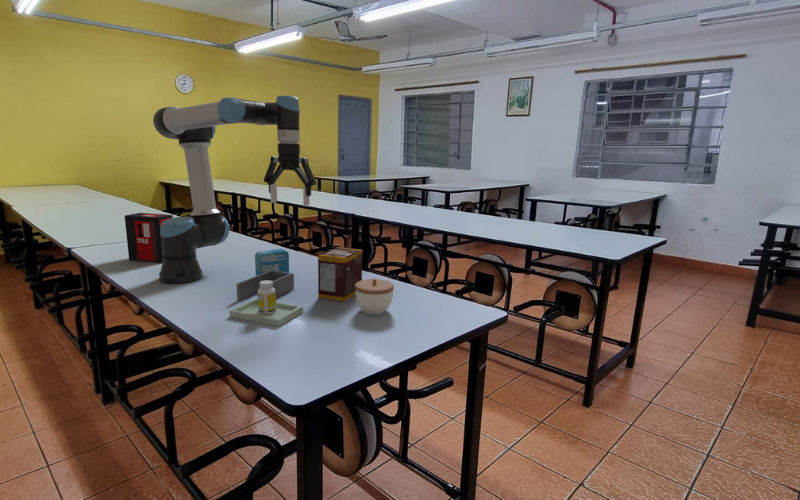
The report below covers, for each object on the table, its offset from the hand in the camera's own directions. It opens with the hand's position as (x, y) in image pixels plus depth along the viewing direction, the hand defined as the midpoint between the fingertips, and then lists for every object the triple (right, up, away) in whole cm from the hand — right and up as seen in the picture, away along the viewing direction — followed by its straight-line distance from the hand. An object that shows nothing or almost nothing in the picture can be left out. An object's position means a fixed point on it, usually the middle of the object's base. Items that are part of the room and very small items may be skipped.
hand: (290, 204), depth 160 cm
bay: (-8, -32, 0) cm, 33 cm away
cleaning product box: (-71, -21, +41) cm, 85 cm away
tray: (-3, -37, -19) cm, 41 cm away
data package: (-11, -29, +16) cm, 35 cm away
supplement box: (+18, -33, +4) cm, 37 cm away
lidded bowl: (+31, -37, -13) cm, 50 cm away
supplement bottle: (-3, -36, -19) cm, 41 cm away
